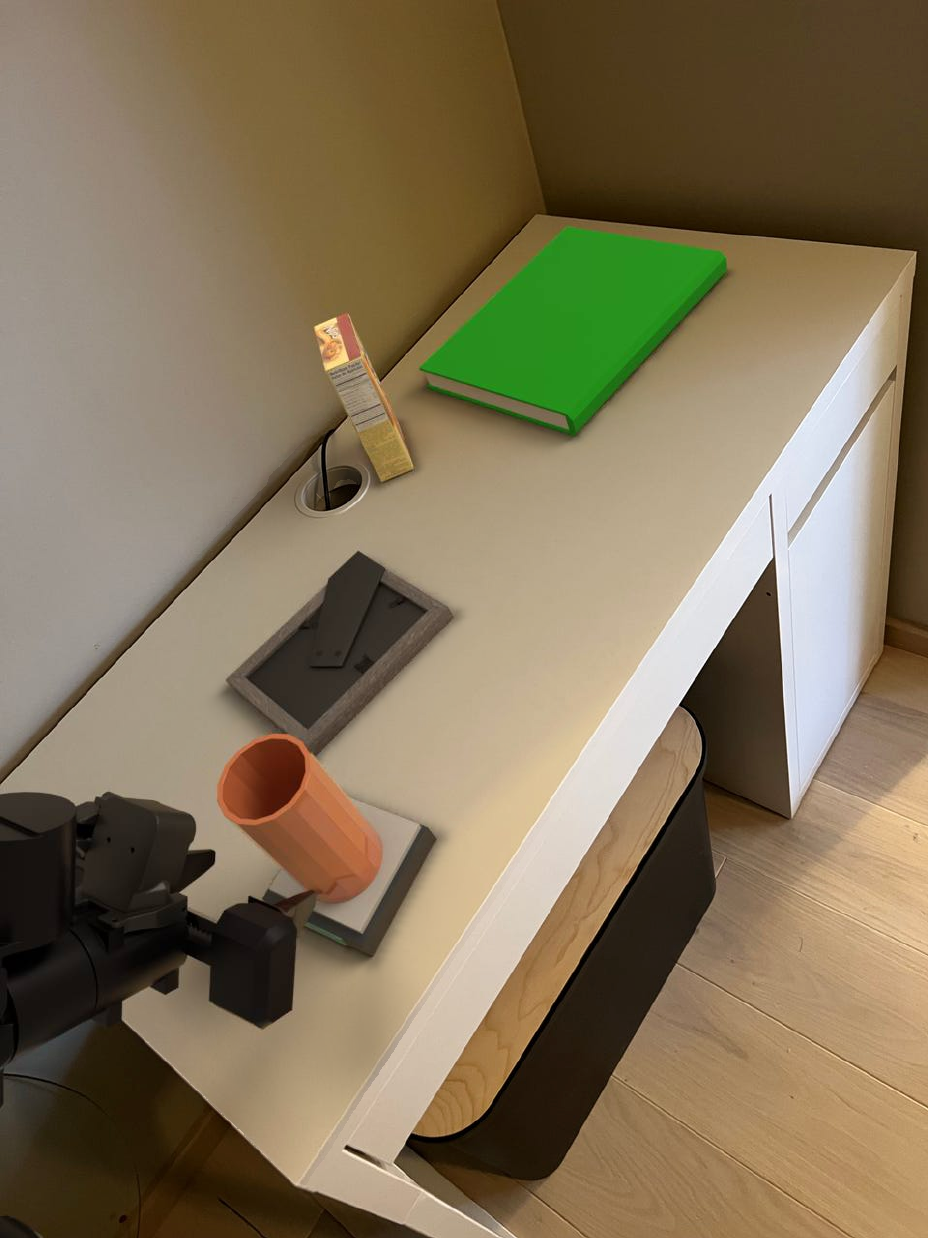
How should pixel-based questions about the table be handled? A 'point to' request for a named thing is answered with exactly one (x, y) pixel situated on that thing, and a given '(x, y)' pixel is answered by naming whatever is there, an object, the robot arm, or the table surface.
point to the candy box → (362, 396)
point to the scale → (380, 901)
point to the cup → (300, 817)
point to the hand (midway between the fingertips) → (262, 876)
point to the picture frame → (339, 651)
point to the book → (572, 326)
